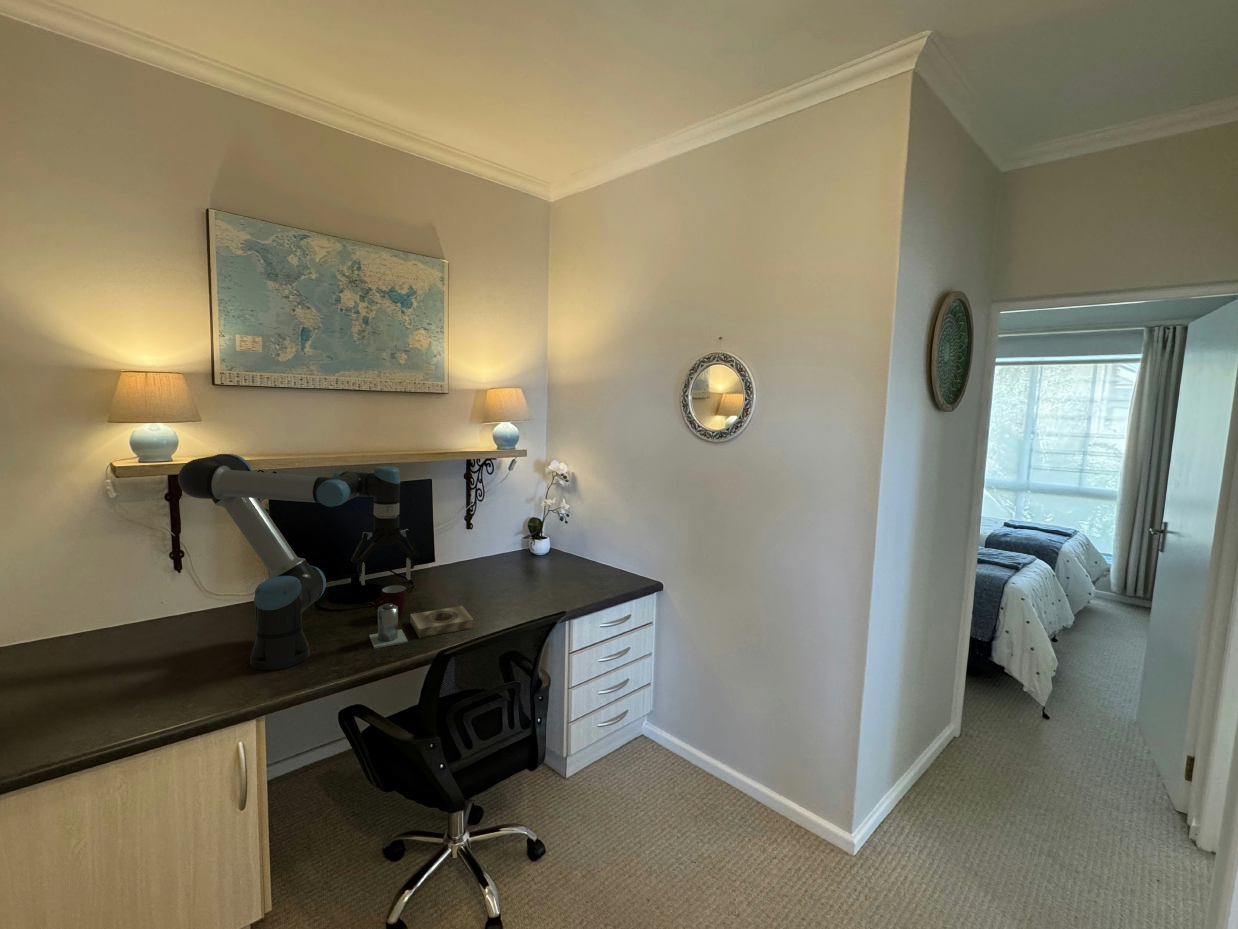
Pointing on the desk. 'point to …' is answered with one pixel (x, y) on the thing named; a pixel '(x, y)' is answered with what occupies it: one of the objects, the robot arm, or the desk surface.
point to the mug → (393, 597)
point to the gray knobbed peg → (387, 622)
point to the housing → (441, 621)
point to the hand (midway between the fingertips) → (386, 581)
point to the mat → (399, 640)
